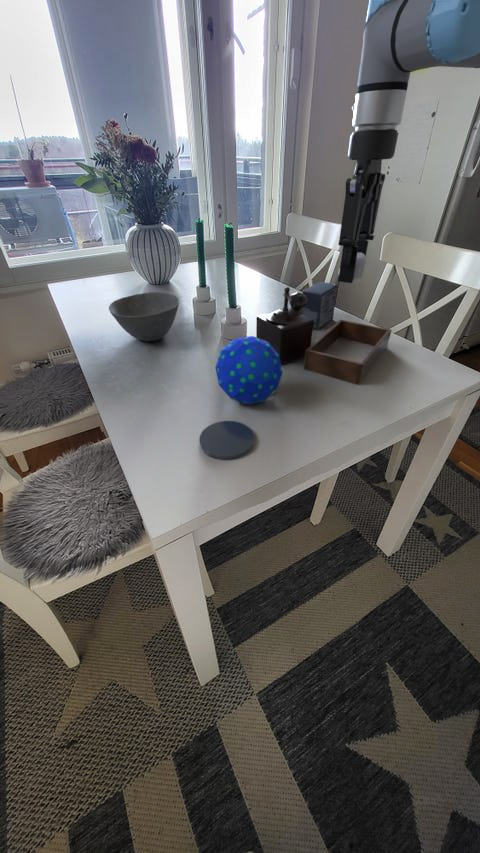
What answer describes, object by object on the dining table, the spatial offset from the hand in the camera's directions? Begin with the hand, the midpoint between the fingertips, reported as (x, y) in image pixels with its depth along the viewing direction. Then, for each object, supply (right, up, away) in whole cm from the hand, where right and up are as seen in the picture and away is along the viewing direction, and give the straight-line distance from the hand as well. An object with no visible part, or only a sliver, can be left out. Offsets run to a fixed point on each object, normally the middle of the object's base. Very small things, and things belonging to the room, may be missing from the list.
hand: (350, 278), depth 71 cm
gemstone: (0, 0, 0) cm, 1 cm away
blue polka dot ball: (-21, -24, +4) cm, 32 cm away
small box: (0, +1, +34) cm, 34 cm away
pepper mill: (-10, -13, +17) cm, 24 cm away
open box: (+4, -13, +16) cm, 21 cm away
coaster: (-25, -33, -8) cm, 42 cm away
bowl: (-48, -5, +29) cm, 56 cm away
